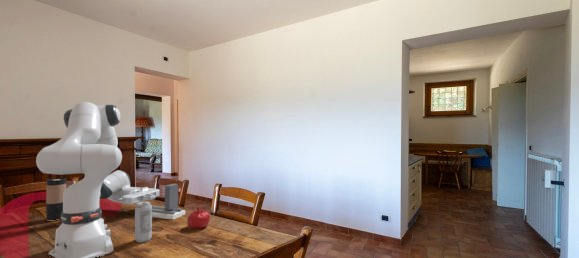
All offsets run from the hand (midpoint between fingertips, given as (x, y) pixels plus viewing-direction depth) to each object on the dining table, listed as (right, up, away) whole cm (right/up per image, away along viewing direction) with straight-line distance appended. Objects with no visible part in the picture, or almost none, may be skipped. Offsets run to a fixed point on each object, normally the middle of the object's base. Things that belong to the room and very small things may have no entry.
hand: (153, 197), depth 144 cm
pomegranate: (+31, -9, -19) cm, 38 cm away
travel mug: (-44, -9, -9) cm, 45 cm away
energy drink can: (+14, -9, -35) cm, 39 cm away
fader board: (+6, -9, -2) cm, 11 cm away
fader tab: (+11, -6, -4) cm, 13 cm away
